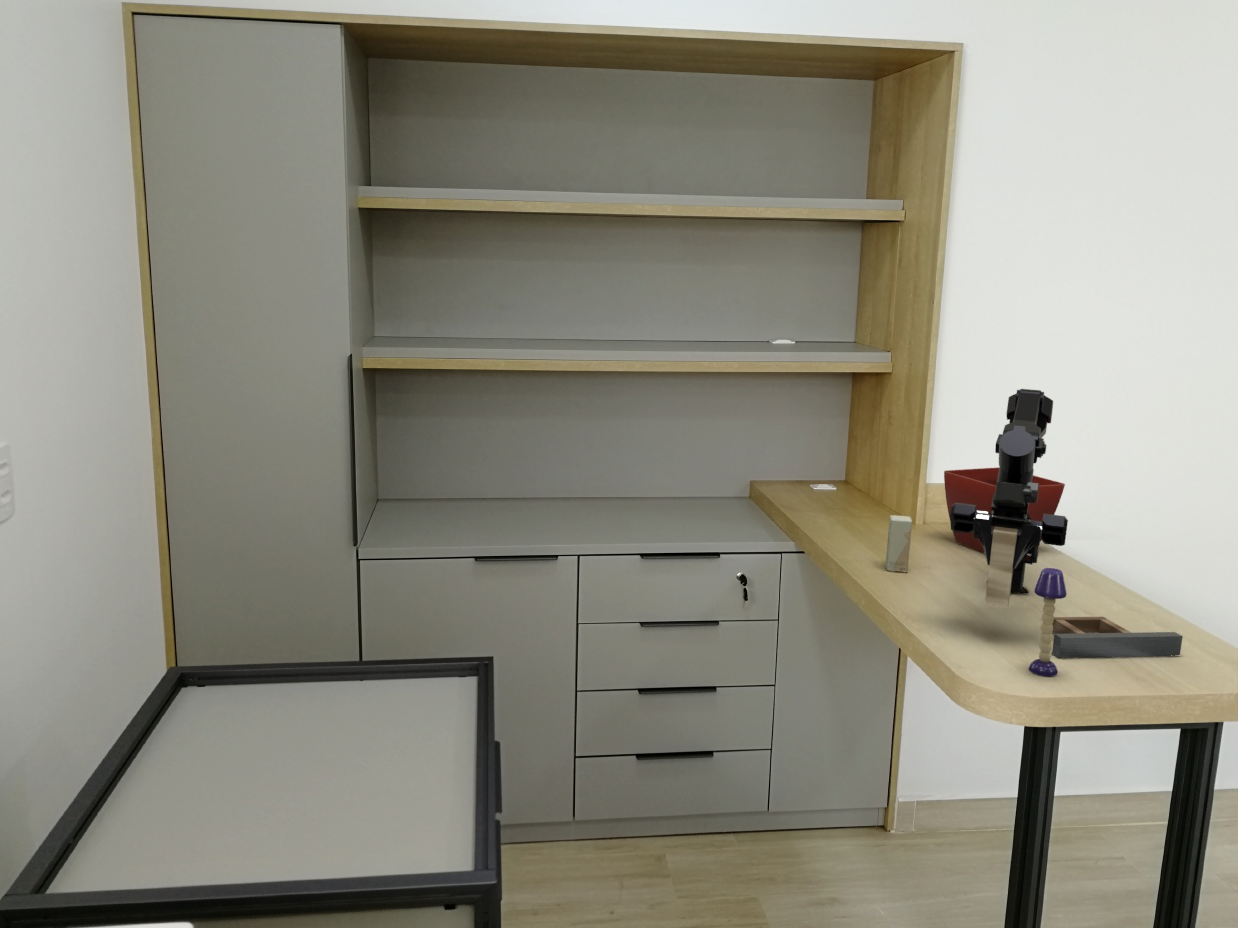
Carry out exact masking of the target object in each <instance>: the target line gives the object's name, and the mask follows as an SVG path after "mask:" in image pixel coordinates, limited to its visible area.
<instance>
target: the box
mask: <svg viewBox="0 0 1238 928" xmlns="http://www.w3.org/2000/svg"><path fill="white" fill-rule="evenodd" d="M888 522H889V523H888V537H887V546H886V557H885V568H887V569H886V571H887V570H894V571H905V572H904V573H906V572H907V573H908V570H909V559H910V551H911V550H910V549H911V548H910V547H911V538H912V537H911V536H912V529H913V528H912V526H913V520H912V517H911V516H908V515H906V516H905V515H895V514H893V515H892V514H891V515H889V521H888ZM894 571H893V572H894Z"/></svg>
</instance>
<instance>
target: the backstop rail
mask: <svg viewBox="0 0 1238 928" xmlns="http://www.w3.org/2000/svg"><path fill="white" fill-rule="evenodd" d="M1053 634H1054V633H1053ZM1052 640H1053V641H1052V642H1053V643H1052V647H1051V655H1053V656H1054V657H1055V658H1057V659H1086V658H1089V659H1090V658H1091V659H1093V658H1095V659H1096V658H1097V659H1098V658H1101V659H1103V658H1139V657H1140V658H1142V657H1143V658H1145V657H1148V658H1149V657H1151V658H1152V657H1153V656H1156V657H1172V656H1171V655H1181V650H1182V643H1183V635H1181V634H1180V633H1177V632H1175V631H1159V632H1157V631H1155V632H1153V631H1152V632H1151V631H1149V632H1148V631H1147V632H1144V631H1143V632H1131V633H1077V634H1054V635H1053V639H1052ZM1153 658H1154V657H1153Z"/></svg>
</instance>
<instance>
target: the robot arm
mask: <svg viewBox="0 0 1238 928" xmlns="http://www.w3.org/2000/svg"><path fill="white" fill-rule="evenodd" d="M1053 409H1054V400H1053V399H1051V398H1050V397H1048V396H1046V395H1045V391H1041V390H1039V389H1029V388H1027V389H1025V388H1021V389H1016V393H1015V394H1014V393H1013V394H1012V395H1010V396H1009V397H1008V401H1007V408H1006V420H1007V421H1008V420H1009V421H1008V423H1006V424H1005V425H1004V427H1003V429H1002V430H1003V431H1002V434H1000V433H999V434H998V436H997V440H996V441H995V453H996V454H998V468H999V473H998V479H997V483H996V489H995V493H994V495H993V499H992V505H991V510H992V514H991V513H989V512H984V511H976V505H971V504H963V503H955V504H954V505H952V508H951V513H950V518H949V520H950V519H951V522H950V530H951V531H952V532H953V531H954V532H961V533H968V534H969V533H971V532H973V537H974V538H978V539H979V540H980V542H981V544H982V546H983V549H984V552H985V553H984V556H985V559H986V563H987V566H990V557H991V548H992V539H993V531H994V529H992V528H991V527H995V526H996V527H1004V528H1011V529H1018V531H1017V540H1016V548H1015V555H1014V559H1013V567H1012V569H1013V574H1012V582H1011V591H1010V594H1012V593H1013V594H1023V595H1024V594H1026V595H1027V594H1029V590H1028V589H1027V588H1026V587H1025V585H1024V582H1025V581H1024V580H1025V573H1026V565H1027V564H1029V565H1033V564H1037V563H1038V553H1039V547H1040V543H1041V542H1042V543H1043V544H1045V545H1051V546H1059V547H1061V546H1065V545H1066V539H1067V538H1066V537H1067V530H1068V523H1069V520H1068V518H1067V517H1066V516H1065V515H1058V514H1054V515H1051V514H1043V520H1042V522H1041V521H1034V520H1031V518H1030V516H1029V514H1028V505H1029V503H1037V499H1038V491H1039V483H1032V478H1033V475H1034V471H1035V470H1034V464H1037V462H1038V458H1039V459H1042V457H1044V455H1046V451H1047V446H1048V445H1047V444H1046V443H1045V442H1046V441H1045V438H1043V437H1044V436H1045V435H1046V433H1047V428H1048V427H1047V426H1048V424H1052V419H1053V418H1052V417H1053ZM1040 536H1041V542H1040ZM987 583H988V579H987V580H986V584H987Z"/></svg>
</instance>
